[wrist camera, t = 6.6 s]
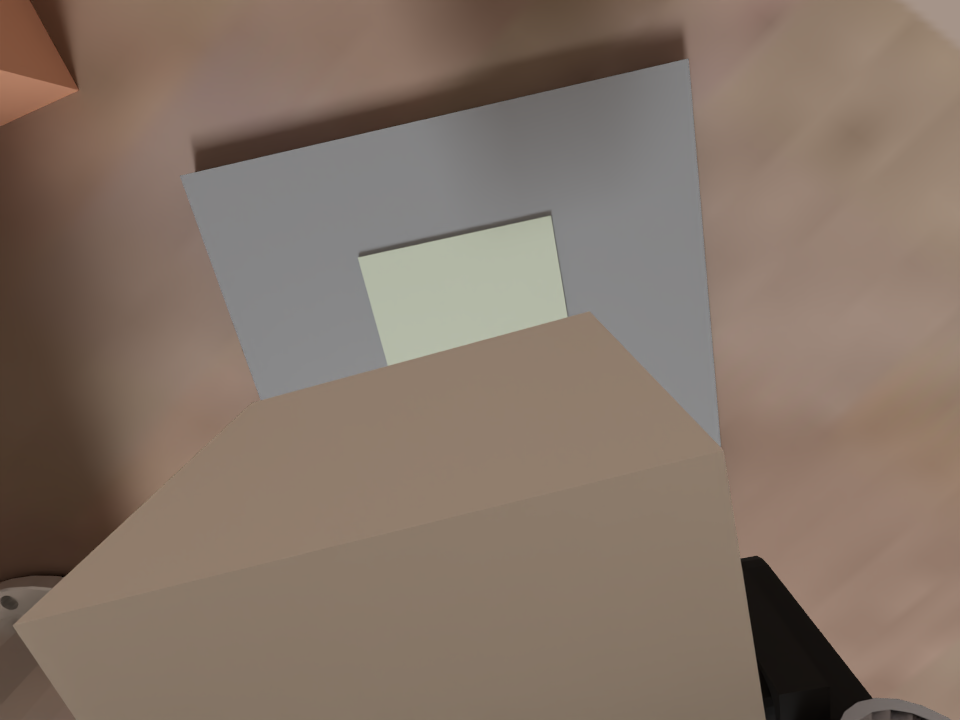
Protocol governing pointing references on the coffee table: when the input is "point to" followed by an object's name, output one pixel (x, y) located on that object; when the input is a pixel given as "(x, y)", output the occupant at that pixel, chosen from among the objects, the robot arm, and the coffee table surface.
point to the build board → (473, 236)
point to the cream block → (426, 555)
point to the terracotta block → (28, 63)
